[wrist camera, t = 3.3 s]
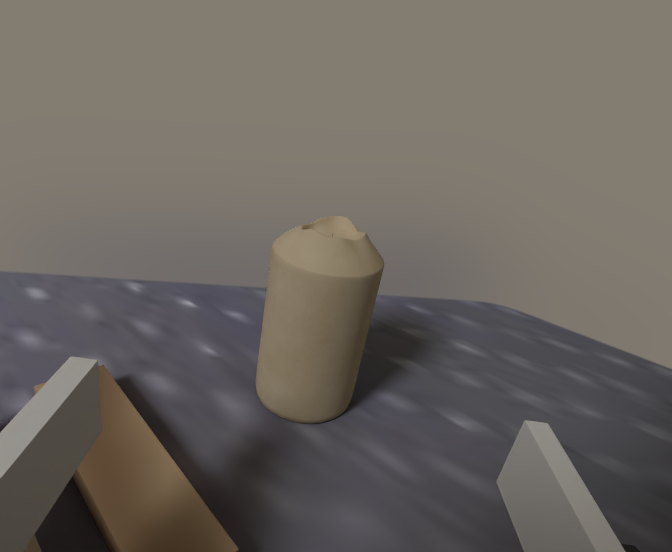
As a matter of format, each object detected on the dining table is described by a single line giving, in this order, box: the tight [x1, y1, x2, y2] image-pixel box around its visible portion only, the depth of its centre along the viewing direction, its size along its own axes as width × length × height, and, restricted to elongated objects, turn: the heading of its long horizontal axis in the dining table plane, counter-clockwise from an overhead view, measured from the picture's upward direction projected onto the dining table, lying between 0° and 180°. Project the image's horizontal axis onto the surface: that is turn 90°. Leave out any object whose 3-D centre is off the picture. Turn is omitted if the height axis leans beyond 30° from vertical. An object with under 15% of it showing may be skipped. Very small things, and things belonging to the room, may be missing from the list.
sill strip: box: [34, 365, 238, 552], centre depth 18 cm, size 3×12×1 cm, turn 45°
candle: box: [256, 216, 384, 424], centre depth 23 cm, size 6×6×10 cm
